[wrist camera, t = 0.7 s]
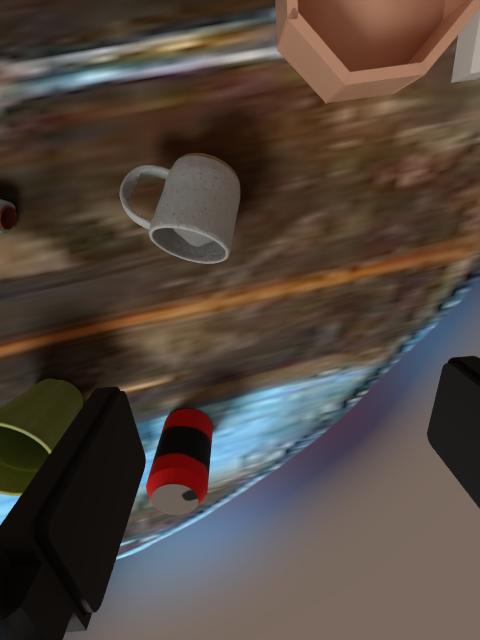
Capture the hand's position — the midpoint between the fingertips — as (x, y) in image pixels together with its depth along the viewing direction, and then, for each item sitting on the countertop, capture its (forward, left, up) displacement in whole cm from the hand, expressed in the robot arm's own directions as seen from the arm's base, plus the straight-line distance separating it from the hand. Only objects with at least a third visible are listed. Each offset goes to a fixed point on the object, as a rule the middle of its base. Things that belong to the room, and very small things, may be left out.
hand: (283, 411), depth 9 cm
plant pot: (+19, -30, -28) cm, 45 cm away
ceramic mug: (-5, -6, -28) cm, 29 cm away
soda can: (+27, -12, -28) cm, 41 cm away
